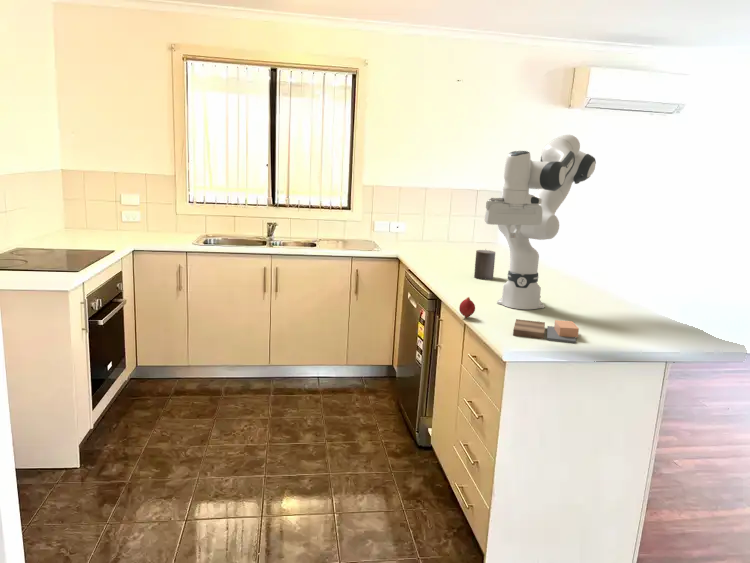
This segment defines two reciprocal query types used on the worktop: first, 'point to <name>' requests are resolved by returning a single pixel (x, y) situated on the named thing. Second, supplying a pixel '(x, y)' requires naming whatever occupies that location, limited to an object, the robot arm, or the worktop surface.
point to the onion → (467, 307)
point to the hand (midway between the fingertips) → (511, 237)
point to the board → (529, 329)
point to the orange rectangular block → (566, 328)
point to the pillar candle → (484, 264)
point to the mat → (554, 336)
